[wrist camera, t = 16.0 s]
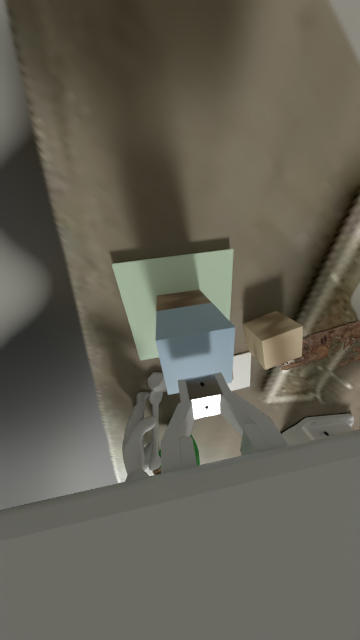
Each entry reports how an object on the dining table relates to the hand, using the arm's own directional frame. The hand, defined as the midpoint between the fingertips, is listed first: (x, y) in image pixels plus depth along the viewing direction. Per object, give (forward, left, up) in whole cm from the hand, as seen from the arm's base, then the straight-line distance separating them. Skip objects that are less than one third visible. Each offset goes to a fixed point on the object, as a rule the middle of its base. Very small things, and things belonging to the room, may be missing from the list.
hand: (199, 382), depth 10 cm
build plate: (0, 0, -12) cm, 12 cm away
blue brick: (0, 0, -6) cm, 6 cm away
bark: (-26, +14, -13) cm, 32 cm away
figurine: (+7, +16, -13) cm, 21 cm away
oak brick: (-13, +6, -13) cm, 19 cm away
